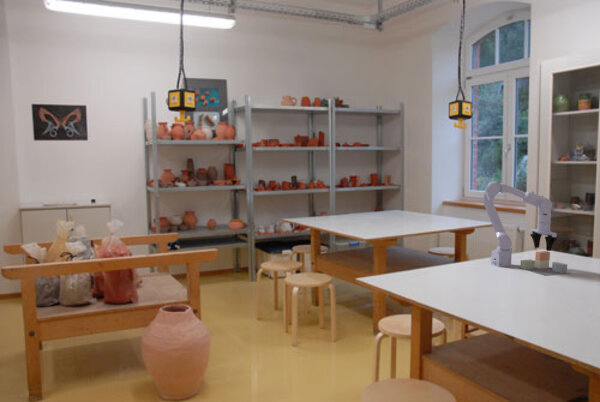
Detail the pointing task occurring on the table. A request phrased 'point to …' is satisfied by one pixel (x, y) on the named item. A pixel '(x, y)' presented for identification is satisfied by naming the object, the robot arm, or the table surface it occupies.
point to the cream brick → (541, 264)
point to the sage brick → (527, 264)
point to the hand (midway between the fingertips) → (542, 249)
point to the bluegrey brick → (559, 267)
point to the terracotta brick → (542, 255)
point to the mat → (545, 271)
